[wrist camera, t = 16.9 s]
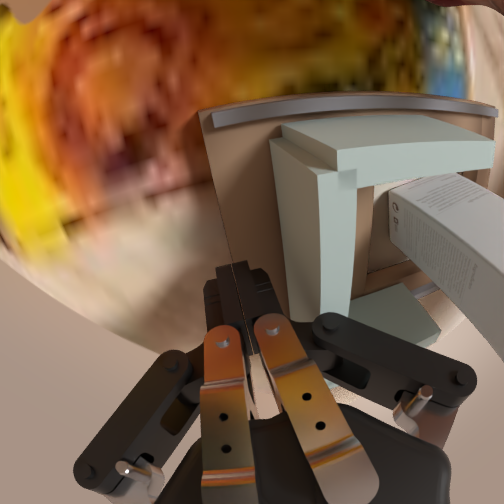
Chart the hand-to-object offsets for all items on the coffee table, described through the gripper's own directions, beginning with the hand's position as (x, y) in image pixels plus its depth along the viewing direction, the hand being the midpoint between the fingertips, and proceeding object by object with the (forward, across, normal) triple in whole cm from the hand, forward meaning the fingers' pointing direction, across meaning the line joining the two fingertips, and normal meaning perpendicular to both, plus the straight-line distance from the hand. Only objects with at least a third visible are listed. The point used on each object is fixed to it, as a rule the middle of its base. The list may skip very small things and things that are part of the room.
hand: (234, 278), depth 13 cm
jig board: (+3, -10, 0) cm, 11 cm away
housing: (+1, -7, 0) cm, 7 cm away
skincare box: (+3, -13, 0) cm, 14 cm away
